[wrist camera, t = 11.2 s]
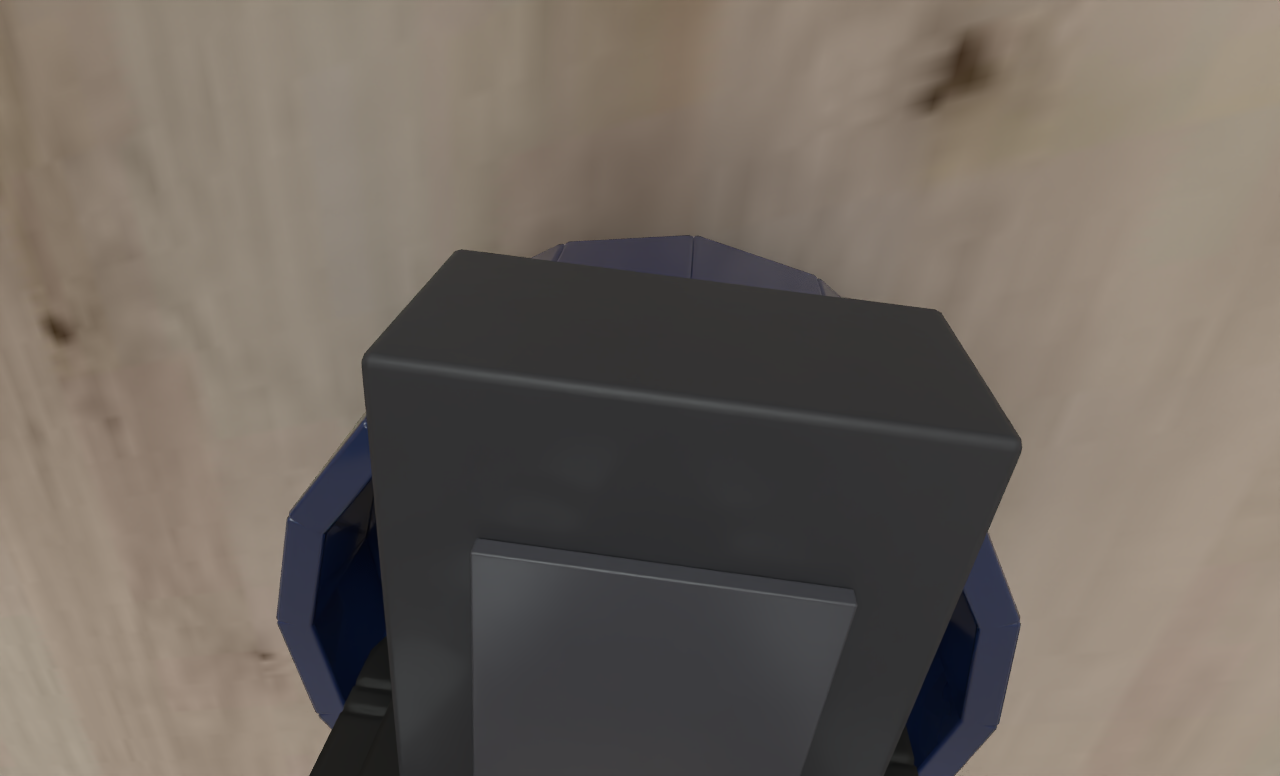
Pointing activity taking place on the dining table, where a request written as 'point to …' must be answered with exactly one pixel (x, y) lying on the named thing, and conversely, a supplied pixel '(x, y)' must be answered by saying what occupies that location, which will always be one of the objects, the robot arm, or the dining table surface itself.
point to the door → (668, 520)
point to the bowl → (351, 576)
